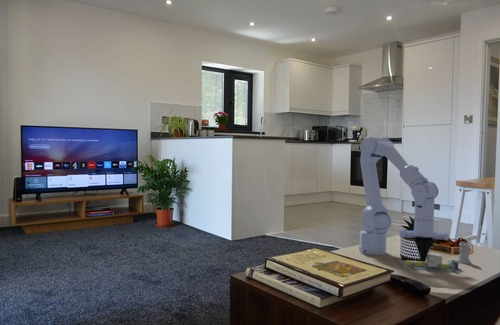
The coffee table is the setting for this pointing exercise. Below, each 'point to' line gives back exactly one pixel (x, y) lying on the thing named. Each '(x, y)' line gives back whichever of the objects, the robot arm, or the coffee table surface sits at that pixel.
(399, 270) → the coffee table surface
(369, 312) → the coffee table surface
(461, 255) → the rook chess piece
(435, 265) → the sleeve
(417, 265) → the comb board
